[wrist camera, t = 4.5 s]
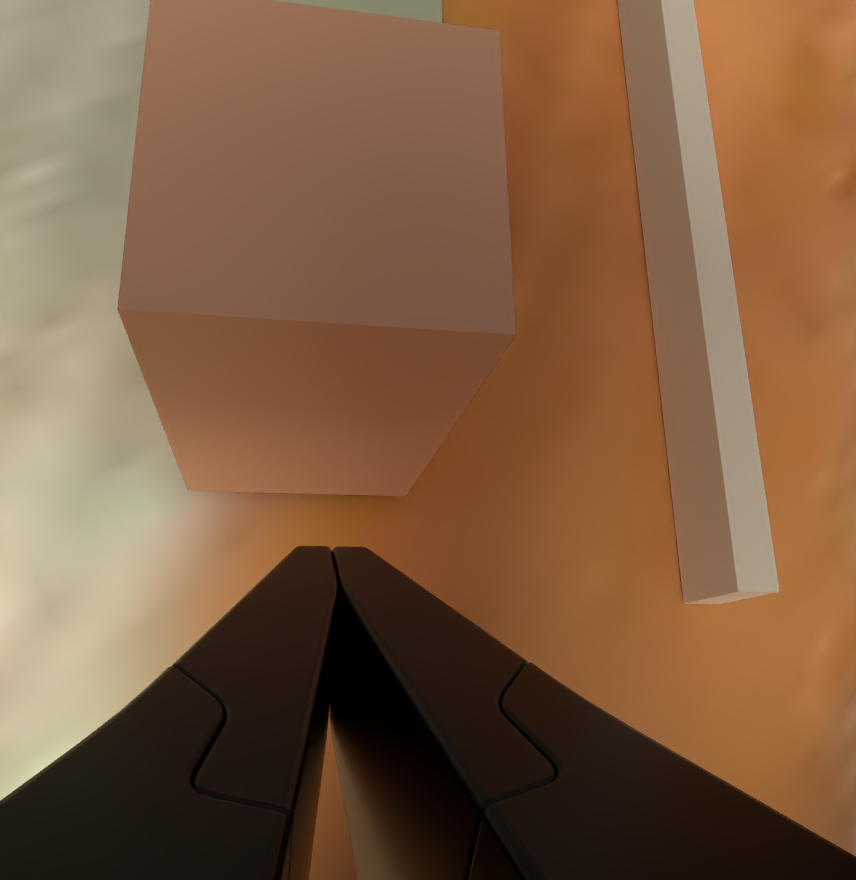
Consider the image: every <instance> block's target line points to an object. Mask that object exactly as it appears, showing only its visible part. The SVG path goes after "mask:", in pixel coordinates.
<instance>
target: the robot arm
mask: <svg viewBox="0 0 856 880" xmlns="http://www.w3.org/2000/svg"><path fill="white" fill-rule="evenodd" d="M329 714H330V725H331V732H332V739H333V745H334V750H335V756H336V761H337V767H338V773H339V778H340V784H341V789H342V795H343V801H344V806H345V812H346V817H347V823H348V829H349V834H350V840H351V845H352V851H353V857H354V862H355V868H356V873H357V879H358V880H856V857H855V856H854V855H852V854H850V853H848V852H847V851H845V850H843V849H842V848H840V847H838V846H836V845H835V844H833V843H831V842H829V841H828V840H826V839H824V838H822V837H821V836H819V835H817V834H816V833H814V832H812V831H810V830H809V829H807V828H805V827H803V826H802V825H800V824H798V823H796V822H795V821H793V820H791V819H790V818H788V817H786V816H784V815H783V814H781V813H779V812H777V811H776V810H774V809H772V808H770V807H769V806H767V805H765V804H764V803H762V802H760V801H758V800H757V799H755V798H753V797H751V796H750V795H748V794H746V793H744V792H743V791H741V790H739V789H737V788H736V787H734V786H732V785H731V784H729V783H727V782H725V781H724V780H722V779H720V778H718V777H717V776H715V775H713V774H711V773H710V772H708V771H706V770H705V769H703V768H701V767H699V766H698V765H696V764H694V763H692V762H691V761H689V760H687V759H685V758H684V757H682V756H680V755H679V754H677V753H675V752H673V751H672V750H670V749H668V748H666V747H665V746H663V745H661V744H659V743H658V742H656V741H654V740H653V739H651V738H649V737H647V736H646V735H644V734H642V733H640V732H639V731H637V730H635V729H633V728H632V727H630V726H628V725H627V724H625V723H623V722H622V721H620V720H618V719H617V718H615V717H613V716H612V715H610V714H608V713H607V712H605V711H603V710H602V709H600V708H598V707H597V706H595V705H593V704H592V703H590V702H589V701H587V700H586V699H584V698H583V697H581V696H580V695H578V694H577V693H575V692H574V691H572V690H571V689H569V688H567V687H566V686H564V685H563V684H561V683H560V682H558V681H557V680H555V679H554V678H553V677H551V676H550V675H548V674H547V673H545V672H544V671H543V670H541V669H540V668H538V667H537V666H536V665H534V664H533V663H527V661H526V660H525V659H524V658H522V657H521V656H519V655H518V654H516V653H515V652H514V651H512V650H511V649H509V648H508V647H507V646H505V645H504V644H502V643H501V642H499V641H498V640H497V639H495V638H494V637H492V636H491V635H490V634H488V633H487V632H485V631H484V630H482V629H481V628H480V627H478V626H477V625H475V624H474V623H473V622H471V621H470V620H468V619H467V618H465V617H464V616H463V615H461V614H460V613H458V612H457V611H456V610H454V609H453V608H451V607H450V606H448V605H447V604H446V603H444V602H443V601H441V600H440V599H439V598H437V597H436V596H434V595H433V594H431V593H430V592H429V591H427V590H426V589H424V588H423V587H422V586H420V585H419V584H417V583H416V582H414V581H413V580H412V579H410V578H409V577H407V576H406V575H405V574H403V573H402V572H400V571H399V570H397V569H396V568H395V567H393V566H392V565H390V564H389V563H388V562H386V561H385V560H383V559H382V558H380V557H379V556H378V555H376V554H375V553H373V552H372V551H371V550H369V549H367V548H365V547H341V546H339V547H335V548H334V549H333V550H332V552H331V550H330V548H329V547H326V546H298V547H296V548H295V549H294V550H293V551H292V552H290V553H289V554H288V555H287V556H286V557H285V558H284V559H283V560H282V561H281V562H280V563H279V564H278V565H277V566H276V567H275V568H274V569H273V570H272V571H271V572H269V573H268V574H267V575H266V576H265V577H264V578H263V579H262V580H261V581H260V582H259V583H258V584H257V585H256V586H255V587H254V588H253V589H252V590H251V591H250V592H249V593H247V594H246V595H245V596H244V597H243V598H242V599H241V600H240V601H239V602H238V603H237V604H236V605H235V606H234V607H233V608H232V609H231V610H230V611H229V612H228V613H226V614H225V615H224V616H223V617H222V618H221V619H220V620H219V621H218V622H217V623H216V624H215V625H214V626H213V627H212V628H211V629H210V630H209V631H208V632H207V633H206V634H204V635H203V636H202V637H201V638H200V639H199V640H198V641H197V642H196V643H195V644H194V645H193V646H192V647H191V648H190V649H189V650H188V651H187V652H186V653H185V654H183V655H182V656H181V657H180V658H179V659H178V660H177V661H176V662H175V663H174V664H173V665H172V667H168V668H167V669H166V670H165V671H164V672H163V673H162V674H161V675H160V676H159V677H158V678H157V679H156V680H155V681H153V682H152V683H151V684H150V685H149V686H148V687H147V688H146V689H145V690H143V691H142V692H141V693H140V694H139V695H138V696H137V697H136V698H134V699H133V700H132V701H131V702H130V703H129V704H128V705H126V706H125V707H124V708H123V709H122V710H121V711H120V712H118V713H117V714H116V715H114V716H113V717H112V718H111V719H109V720H108V721H107V722H105V723H104V724H103V725H102V726H100V727H99V728H98V729H96V730H95V731H94V732H93V733H91V734H90V735H89V736H87V737H86V738H85V739H84V740H82V741H81V742H80V743H78V744H77V745H76V746H74V747H73V748H72V749H70V750H69V751H67V752H66V753H65V754H63V755H62V756H61V757H59V758H58V759H57V760H55V761H54V762H53V763H51V764H50V765H48V766H47V767H46V768H44V769H43V770H42V771H40V772H39V773H38V774H36V775H35V776H33V777H32V778H31V779H29V780H28V781H27V782H25V783H24V784H23V785H21V786H20V787H18V788H17V789H16V790H14V791H13V792H12V793H10V794H9V795H8V796H6V797H5V798H3V799H2V800H1V801H0V880H308V879H309V872H310V864H311V856H312V848H313V840H314V832H315V825H316V817H317V809H318V801H319V793H320V786H321V778H322V770H323V762H324V754H325V746H326V739H327V728H328V716H329Z"/></svg>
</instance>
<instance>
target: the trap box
mask: <svg viewBox="0 0 856 880" xmlns="http://www.w3.org/2000/svg"><path fill="white" fill-rule="evenodd" d="M275 1H282V2H290V3H297V4H305V5H312V6H320V7H327V8H335V9H342V10H350V11H357V12H364V13H372V14H379V15H387V16H394V17H402V18H409V19H417V20H424V21H432V22H439V23H442V0H275ZM617 3H618V12H619V21H620V30H621V39H622V48H623V57H624V66H625V75H626V84H627V93H628V103H629V112H630V121H631V130H632V139H633V148H634V157H635V166H636V175H637V184H638V193H639V202H640V212H641V221H642V230H643V239H644V248H645V257H646V266H647V275H648V284H649V293H650V302H651V312H652V321H653V330H654V339H655V348H656V357H657V366H658V375H659V384H660V393H661V402H662V411H663V421H664V430H665V439H666V448H667V457H668V466H669V475H670V484H671V493H672V502H673V511H674V520H675V530H676V539H677V548H678V557H679V566H680V575H681V584H682V593H683V602H684V604H723V603H728V602H733V601H738V600H742V599H747V598H752V597H757V596H762V595H767V594H771V593H776V592H780V591H779V585H778V578H777V571H776V564H775V557H774V550H773V543H772V536H771V530H770V523H769V516H768V509H767V502H766V495H765V488H764V482H763V475H762V468H761V461H760V454H759V447H758V440H757V433H756V427H755V420H754V413H753V406H752V399H751V392H750V385H749V378H748V372H747V365H746V358H745V351H744V344H743V337H742V330H741V323H740V317H739V310H738V303H737V296H736V289H735V282H734V275H733V268H732V262H731V255H730V248H729V241H728V234H727V227H726V220H725V213H724V207H723V200H722V193H721V186H720V179H719V172H718V165H717V159H716V152H715V145H714V138H713V131H712V124H711V117H710V110H709V104H708V97H707V90H706V83H705V76H704V69H703V62H702V55H701V49H700V42H699V35H698V28H697V21H696V14H695V7H694V0H617Z"/></svg>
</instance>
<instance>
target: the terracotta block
mask: <svg viewBox="0 0 856 880" xmlns="http://www.w3.org/2000/svg"><path fill="white" fill-rule="evenodd" d="M118 312H119V314H120V317H121V319H122V322H123V324H124V327H125V330H126V332H127V335H128V337H129V340H130V342H131V345H132V348H133V350H134V353H135V355H136V358H137V360H138V363H139V366H140V368H141V371H142V373H143V376H144V378H145V381H146V384H147V386H148V389H149V391H150V394H151V396H152V399H153V401H154V404H155V407H156V409H157V412H158V414H159V417H160V419H161V422H162V425H163V427H164V430H165V432H166V435H167V437H168V440H169V443H170V445H171V448H172V450H173V453H174V455H175V458H176V461H177V463H178V466H179V468H180V471H181V473H182V476H183V479H184V481H185V484H186V486H187V489H188V490H190V491H228V492H266V493H304V494H342V495H380V496H407V494H408V493H409V491H410V490H411V488H412V487H413V485H414V484H415V482H416V481H417V479H418V478H419V476H420V475H421V474H422V472H423V471H424V469H425V468H426V466H427V465H428V463H429V462H430V460H431V459H432V457H433V456H434V454H435V453H436V451H437V450H438V449H439V447H440V446H441V444H442V443H443V441H444V440H445V438H446V437H447V435H448V434H449V432H450V431H451V429H452V428H453V427H454V425H455V424H456V422H457V421H458V419H459V418H460V416H461V415H462V413H463V412H464V410H465V409H466V407H467V406H468V404H469V403H470V402H471V400H472V399H473V397H474V396H475V394H476V393H477V391H478V390H479V388H480V387H481V385H482V384H483V382H484V381H485V380H486V378H487V377H488V375H489V374H490V372H491V371H492V369H493V368H494V366H495V365H496V363H497V362H498V360H499V359H500V357H501V356H502V355H503V353H504V352H505V350H506V349H507V347H508V346H509V344H510V343H511V341H512V340H513V338H514V337H515V335H516V327H515V308H514V290H513V272H512V253H511V235H510V217H509V198H508V180H507V162H506V143H505V125H504V106H503V88H502V70H501V51H500V33H499V30H492V29H484V28H477V27H469V26H462V25H454V24H447V23H439V22H432V21H424V20H417V19H409V18H402V17H394V16H387V15H379V14H372V13H364V12H357V11H350V10H342V9H335V8H327V7H320V6H312V5H305V4H297V3H290V2H282V1H275V0H151V1H150V10H149V20H148V29H147V39H146V48H145V57H144V67H143V76H142V85H141V95H140V104H139V113H138V123H137V132H136V141H135V151H134V160H133V169H132V179H131V188H130V198H129V207H128V216H127V226H126V235H125V244H124V254H123V263H122V272H121V282H120V291H119V300H118Z"/></svg>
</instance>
